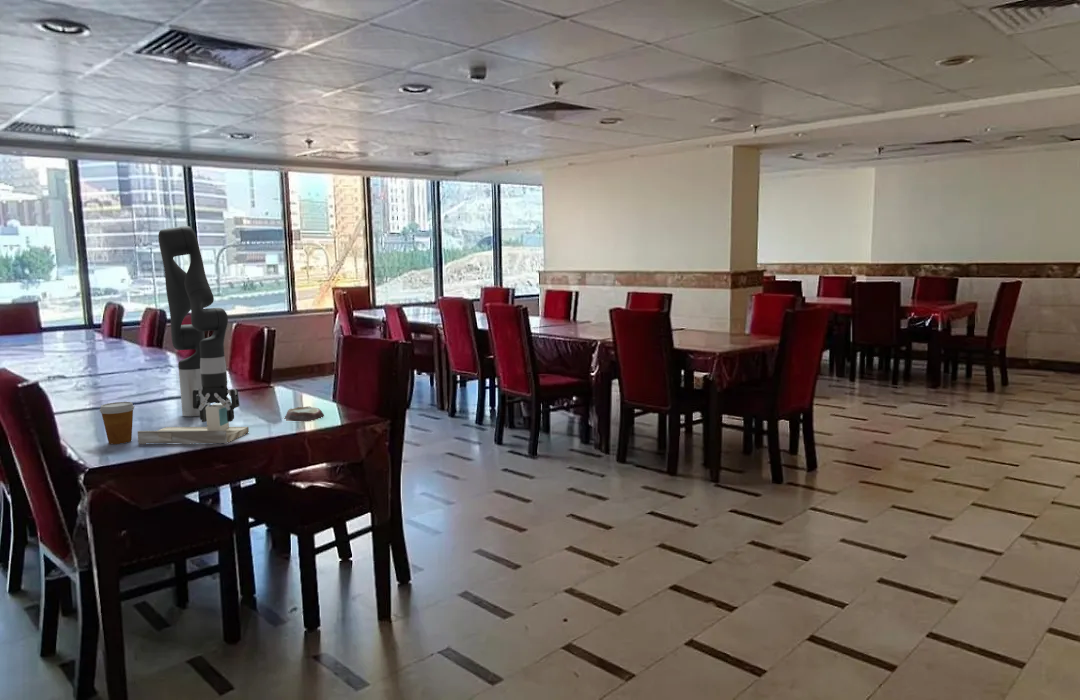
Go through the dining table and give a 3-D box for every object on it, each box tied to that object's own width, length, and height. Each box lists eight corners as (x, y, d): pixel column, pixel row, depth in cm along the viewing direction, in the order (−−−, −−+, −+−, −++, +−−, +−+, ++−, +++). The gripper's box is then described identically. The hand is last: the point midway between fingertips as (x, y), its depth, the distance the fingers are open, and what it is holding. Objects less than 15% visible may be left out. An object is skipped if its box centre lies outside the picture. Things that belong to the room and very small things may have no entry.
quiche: (259, 424, 259) (258, 412, 258) (298, 412, 278) (297, 402, 277) (308, 427, 251) (307, 416, 251) (344, 415, 270) (344, 405, 269)
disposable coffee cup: (95, 445, 229) (92, 407, 227) (114, 438, 238) (111, 401, 237) (125, 445, 228) (122, 407, 227) (143, 438, 237) (140, 401, 236)
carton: (217, 427, 241) (215, 403, 240) (229, 427, 241) (228, 403, 240) (207, 431, 235) (205, 407, 234) (220, 431, 235) (218, 406, 234)
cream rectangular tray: (166, 433, 244) (165, 421, 244) (248, 432, 242) (247, 420, 241) (137, 444, 229) (136, 431, 228) (224, 444, 226) (223, 431, 226)
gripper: (240, 369, 239) (244, 418, 241) (198, 369, 240) (202, 419, 242) (229, 372, 231) (232, 423, 233) (185, 373, 233) (189, 424, 235)
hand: (217, 421), depth 238 cm, fingers open, 8 cm apart
